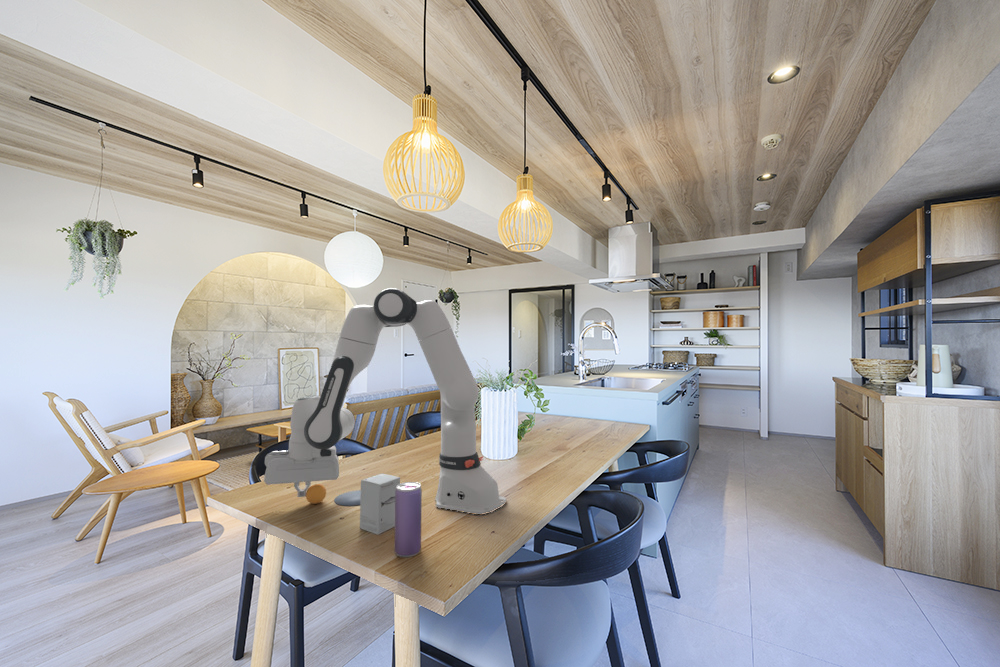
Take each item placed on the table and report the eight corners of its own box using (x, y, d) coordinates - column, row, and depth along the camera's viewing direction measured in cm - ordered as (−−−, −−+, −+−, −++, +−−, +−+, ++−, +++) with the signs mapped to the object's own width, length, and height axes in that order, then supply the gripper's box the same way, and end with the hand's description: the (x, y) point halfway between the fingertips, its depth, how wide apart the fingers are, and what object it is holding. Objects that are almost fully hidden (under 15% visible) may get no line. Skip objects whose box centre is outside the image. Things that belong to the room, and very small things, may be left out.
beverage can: (414, 559, 89) (415, 491, 90) (389, 556, 90) (390, 489, 91) (425, 546, 95) (425, 482, 95) (401, 544, 96) (402, 480, 97)
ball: (318, 510, 121) (332, 495, 123) (305, 504, 117) (319, 488, 119) (312, 499, 125) (326, 484, 127) (299, 492, 121) (313, 477, 123)
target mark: (386, 496, 128) (386, 495, 128) (351, 509, 117) (351, 508, 117) (361, 488, 135) (361, 487, 135) (325, 499, 124) (325, 499, 124)
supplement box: (378, 535, 101) (379, 484, 101) (359, 528, 104) (359, 479, 105) (400, 524, 107) (400, 476, 107) (381, 518, 111) (381, 472, 111)
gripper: (263, 454, 114) (260, 503, 114) (340, 450, 122) (337, 496, 121) (267, 448, 120) (263, 495, 119) (340, 445, 128) (337, 489, 127)
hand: (301, 496), depth 120 cm, fingers closed
